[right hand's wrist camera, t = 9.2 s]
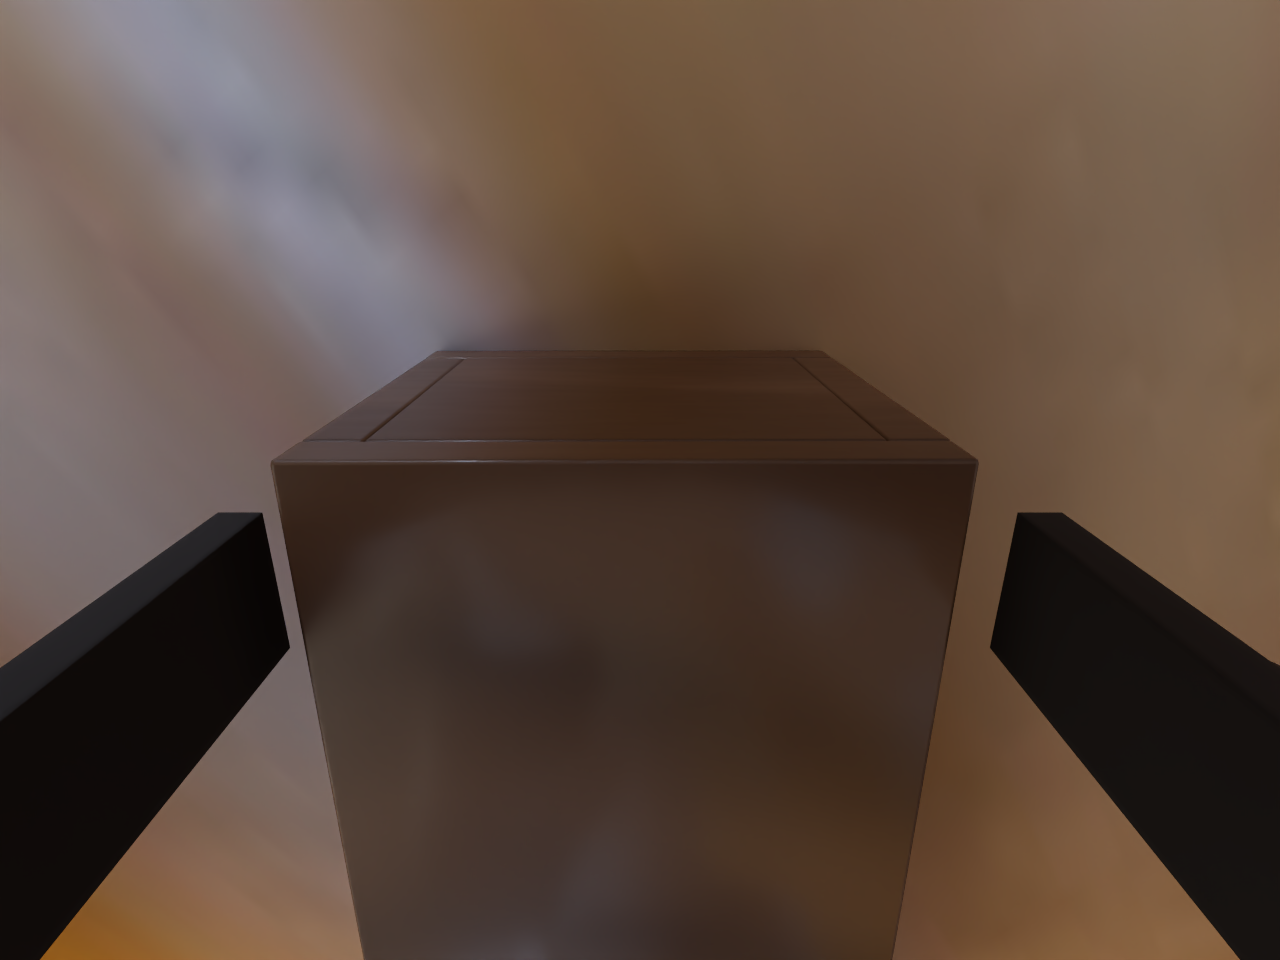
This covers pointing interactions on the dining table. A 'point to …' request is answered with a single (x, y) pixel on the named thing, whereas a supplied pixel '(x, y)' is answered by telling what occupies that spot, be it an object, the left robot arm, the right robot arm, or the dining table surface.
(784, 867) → the cabinet
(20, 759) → the right robot arm
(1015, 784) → the dining table surface
